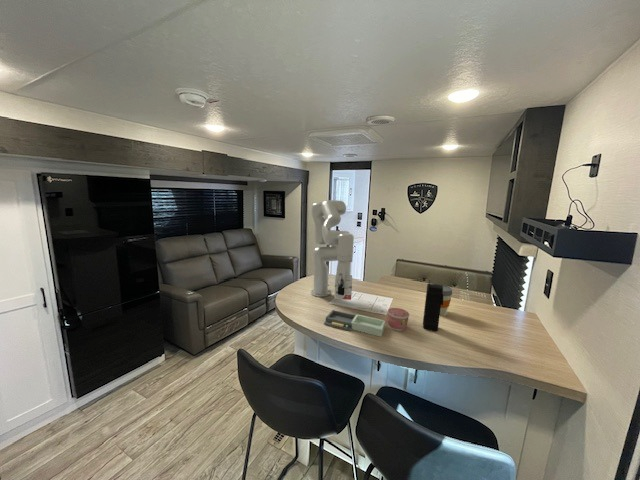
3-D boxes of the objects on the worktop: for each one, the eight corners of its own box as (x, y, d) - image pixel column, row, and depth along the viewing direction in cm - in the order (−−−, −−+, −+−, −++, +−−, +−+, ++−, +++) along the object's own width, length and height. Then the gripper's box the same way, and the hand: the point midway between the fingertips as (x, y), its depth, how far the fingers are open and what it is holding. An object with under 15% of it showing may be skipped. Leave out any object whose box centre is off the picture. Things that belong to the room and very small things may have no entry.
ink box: (351, 296, 132) (352, 274, 130) (351, 300, 127) (352, 277, 125) (334, 295, 133) (335, 273, 131) (334, 298, 128) (335, 276, 126)
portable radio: (438, 326, 131) (444, 280, 126) (440, 332, 125) (446, 284, 121) (422, 323, 133) (427, 278, 129) (423, 329, 128) (428, 281, 123)
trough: (356, 320, 134) (356, 314, 134) (384, 326, 128) (385, 320, 128) (350, 329, 125) (351, 322, 125) (381, 336, 119) (381, 329, 119)
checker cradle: (333, 313, 141) (333, 308, 141) (358, 318, 136) (358, 313, 135) (323, 324, 129) (324, 319, 128) (350, 331, 123) (350, 325, 123)
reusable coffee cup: (443, 319, 139) (447, 293, 137) (421, 310, 148) (424, 286, 146) (453, 312, 147) (456, 288, 145) (431, 305, 157) (434, 282, 154)
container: (385, 329, 126) (386, 314, 125) (387, 320, 136) (388, 306, 134) (407, 334, 122) (409, 318, 121) (407, 324, 132) (409, 309, 131)
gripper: (343, 253, 136) (341, 285, 139) (331, 261, 120) (330, 296, 123) (356, 255, 133) (354, 288, 136) (346, 263, 117) (344, 299, 120)
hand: (343, 292), depth 129 cm, fingers closed on ink box, 6 cm apart
